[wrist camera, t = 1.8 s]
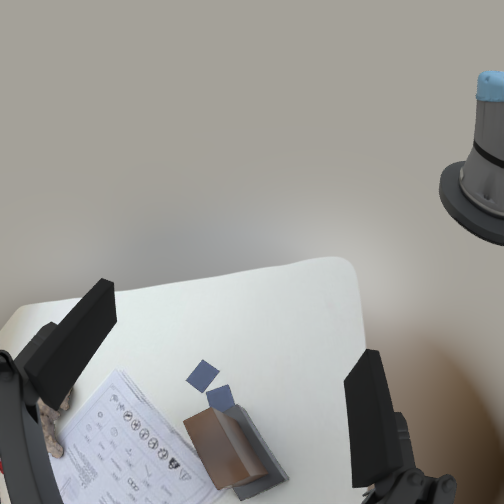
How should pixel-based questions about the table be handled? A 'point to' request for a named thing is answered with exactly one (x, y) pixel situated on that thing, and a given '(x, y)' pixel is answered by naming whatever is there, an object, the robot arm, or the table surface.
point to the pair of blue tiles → (217, 397)
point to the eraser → (234, 451)
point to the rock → (51, 425)
